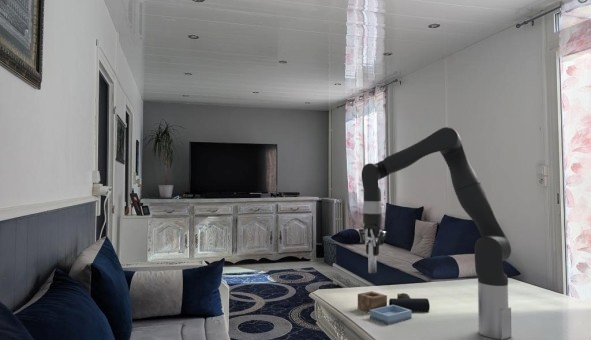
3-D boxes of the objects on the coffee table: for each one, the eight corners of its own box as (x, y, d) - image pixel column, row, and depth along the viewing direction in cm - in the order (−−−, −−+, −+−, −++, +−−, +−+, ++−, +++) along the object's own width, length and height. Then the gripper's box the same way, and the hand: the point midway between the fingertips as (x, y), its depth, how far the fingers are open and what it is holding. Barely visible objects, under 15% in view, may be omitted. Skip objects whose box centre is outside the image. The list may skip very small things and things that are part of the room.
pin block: (386, 310, 162) (386, 295, 162) (372, 314, 157) (372, 298, 157) (371, 305, 168) (371, 291, 169) (357, 308, 164) (357, 293, 164)
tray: (411, 318, 152) (411, 310, 152) (388, 324, 145) (388, 316, 145) (393, 312, 160) (393, 304, 160) (370, 318, 152) (370, 310, 152)
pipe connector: (384, 292, 171) (419, 292, 172) (384, 304, 171) (419, 304, 172) (392, 300, 160) (429, 300, 160) (392, 313, 160) (429, 313, 160)
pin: (378, 272, 163) (378, 242, 164) (372, 273, 161) (372, 243, 162) (372, 271, 166) (372, 242, 166) (366, 272, 164) (366, 242, 164)
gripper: (391, 213, 161) (391, 256, 160) (366, 211, 172) (366, 251, 172) (378, 213, 157) (378, 258, 156) (353, 211, 168) (353, 253, 167)
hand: (372, 254), depth 164 cm, fingers closed on pin, 3 cm apart
